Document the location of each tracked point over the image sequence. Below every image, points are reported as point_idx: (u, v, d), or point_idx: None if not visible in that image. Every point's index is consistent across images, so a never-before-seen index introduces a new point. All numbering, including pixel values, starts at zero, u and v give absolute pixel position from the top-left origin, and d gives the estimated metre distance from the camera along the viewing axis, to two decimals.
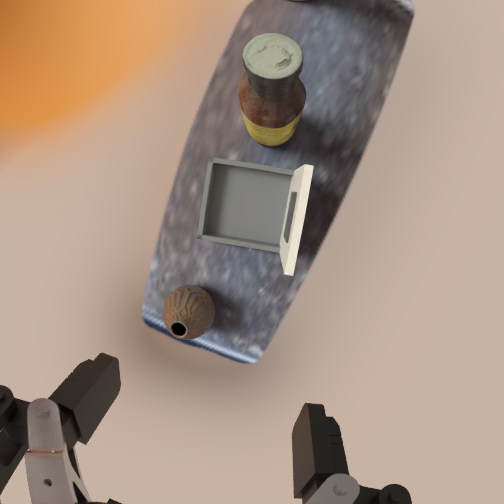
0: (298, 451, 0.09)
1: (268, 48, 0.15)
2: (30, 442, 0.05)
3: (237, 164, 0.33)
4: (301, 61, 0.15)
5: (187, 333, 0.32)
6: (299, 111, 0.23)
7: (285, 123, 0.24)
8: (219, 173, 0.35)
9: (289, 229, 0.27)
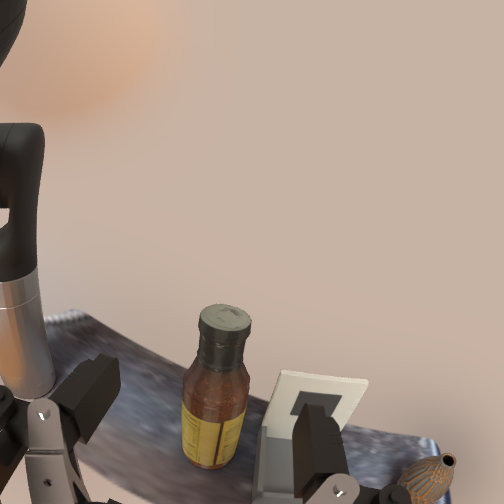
0: (298, 451, 0.09)
1: (219, 316, 0.21)
2: (30, 442, 0.05)
3: (262, 469, 0.23)
4: (231, 306, 0.23)
5: (447, 453, 0.19)
6: None
7: None
8: None
9: (331, 394, 0.27)
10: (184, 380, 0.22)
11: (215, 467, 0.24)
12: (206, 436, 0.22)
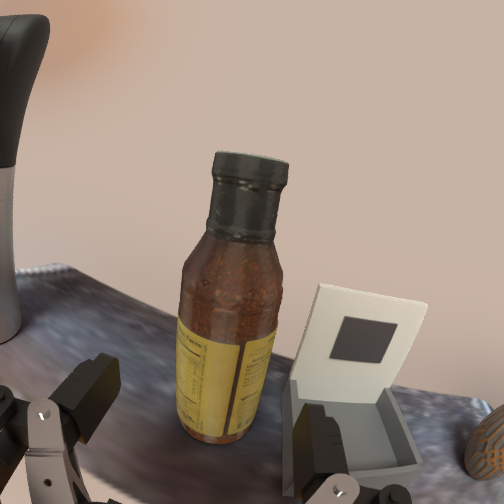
0: (298, 451, 0.09)
1: None
2: (30, 442, 0.05)
3: None
4: None
5: None
6: None
7: None
8: None
9: (384, 322, 0.21)
10: (183, 271, 0.15)
11: (226, 440, 0.17)
12: (215, 376, 0.15)
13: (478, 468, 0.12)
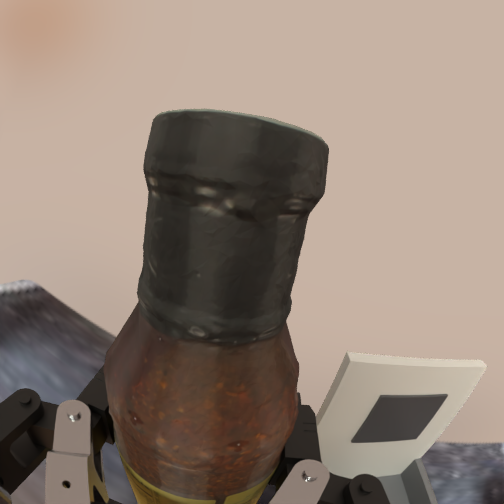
0: None
1: None
2: (55, 442, 0.05)
3: None
4: None
5: None
6: None
7: None
8: None
9: (432, 396, 0.12)
10: (105, 372, 0.07)
11: None
12: None
13: None
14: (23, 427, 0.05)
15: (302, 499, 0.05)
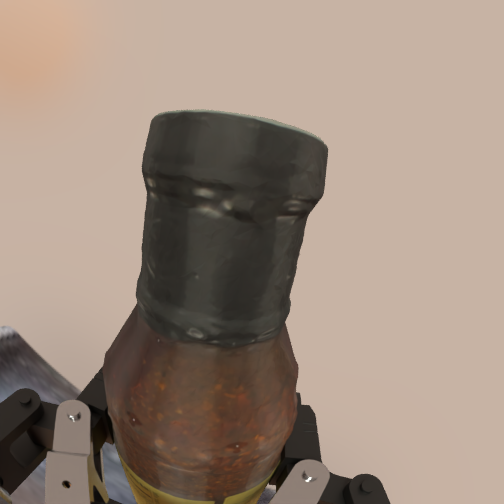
0: None
1: None
2: (55, 442, 0.05)
3: None
4: None
5: None
6: None
7: None
8: None
9: None
10: (104, 373, 0.07)
11: None
12: None
13: None
14: (23, 427, 0.05)
15: (302, 499, 0.05)
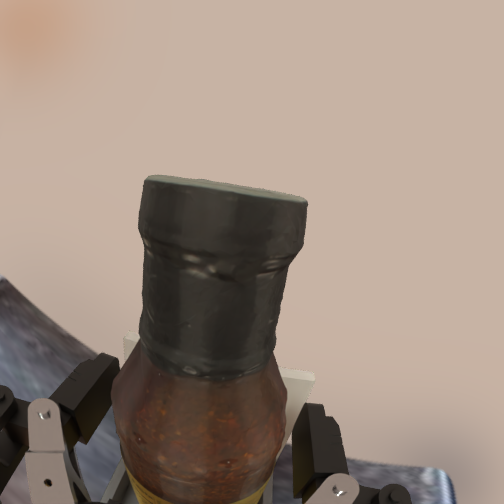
0: (298, 451, 0.09)
1: None
2: (30, 442, 0.05)
3: None
4: None
5: None
6: None
7: None
8: None
9: None
10: (112, 397, 0.07)
11: None
12: None
13: None
14: (1, 423, 0.05)
15: None
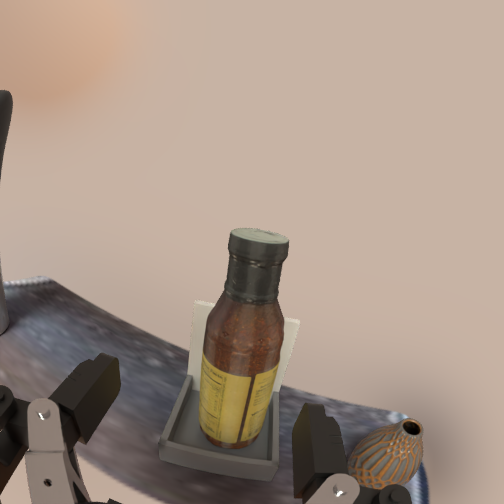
0: (298, 451, 0.09)
1: (253, 234, 0.19)
2: (30, 442, 0.05)
3: (174, 417, 0.22)
4: (263, 231, 0.21)
5: (409, 418, 0.18)
6: None
7: None
8: None
9: None
10: (207, 322, 0.20)
11: (239, 446, 0.21)
12: (232, 398, 0.19)
13: None
14: (0, 423, 0.05)
15: None
